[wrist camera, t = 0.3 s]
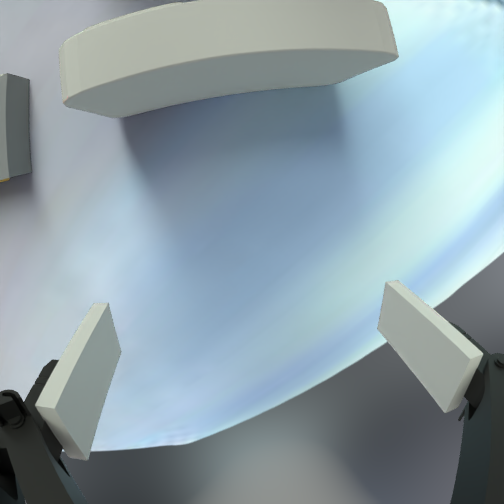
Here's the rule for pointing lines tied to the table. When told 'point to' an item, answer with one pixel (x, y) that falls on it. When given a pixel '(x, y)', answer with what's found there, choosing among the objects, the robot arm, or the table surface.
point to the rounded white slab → (220, 51)
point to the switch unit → (14, 127)
